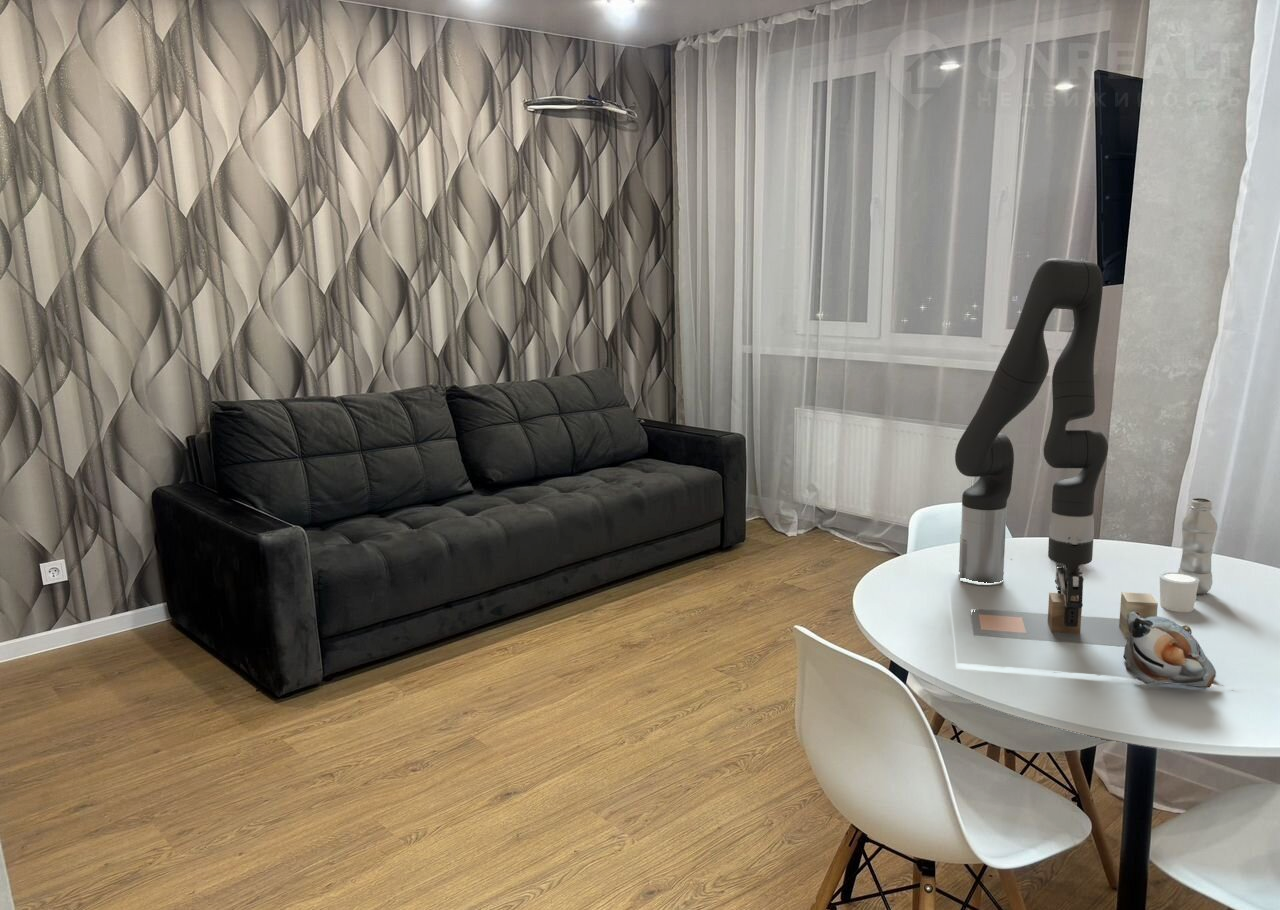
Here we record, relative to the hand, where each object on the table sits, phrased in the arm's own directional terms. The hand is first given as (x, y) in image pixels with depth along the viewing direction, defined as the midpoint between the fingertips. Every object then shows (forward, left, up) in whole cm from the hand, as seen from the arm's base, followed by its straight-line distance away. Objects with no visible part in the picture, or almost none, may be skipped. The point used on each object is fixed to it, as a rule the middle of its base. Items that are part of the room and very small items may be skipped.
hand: (1066, 617), depth 171 cm
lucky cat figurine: (+13, -18, -3) cm, 22 cm away
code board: (0, 0, -3) cm, 3 cm away
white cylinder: (+22, +16, -3) cm, 28 cm away
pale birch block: (+12, 0, -2) cm, 12 cm away
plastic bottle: (+28, +28, -3) cm, 40 cm away
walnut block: (0, 0, -2) cm, 2 cm away
